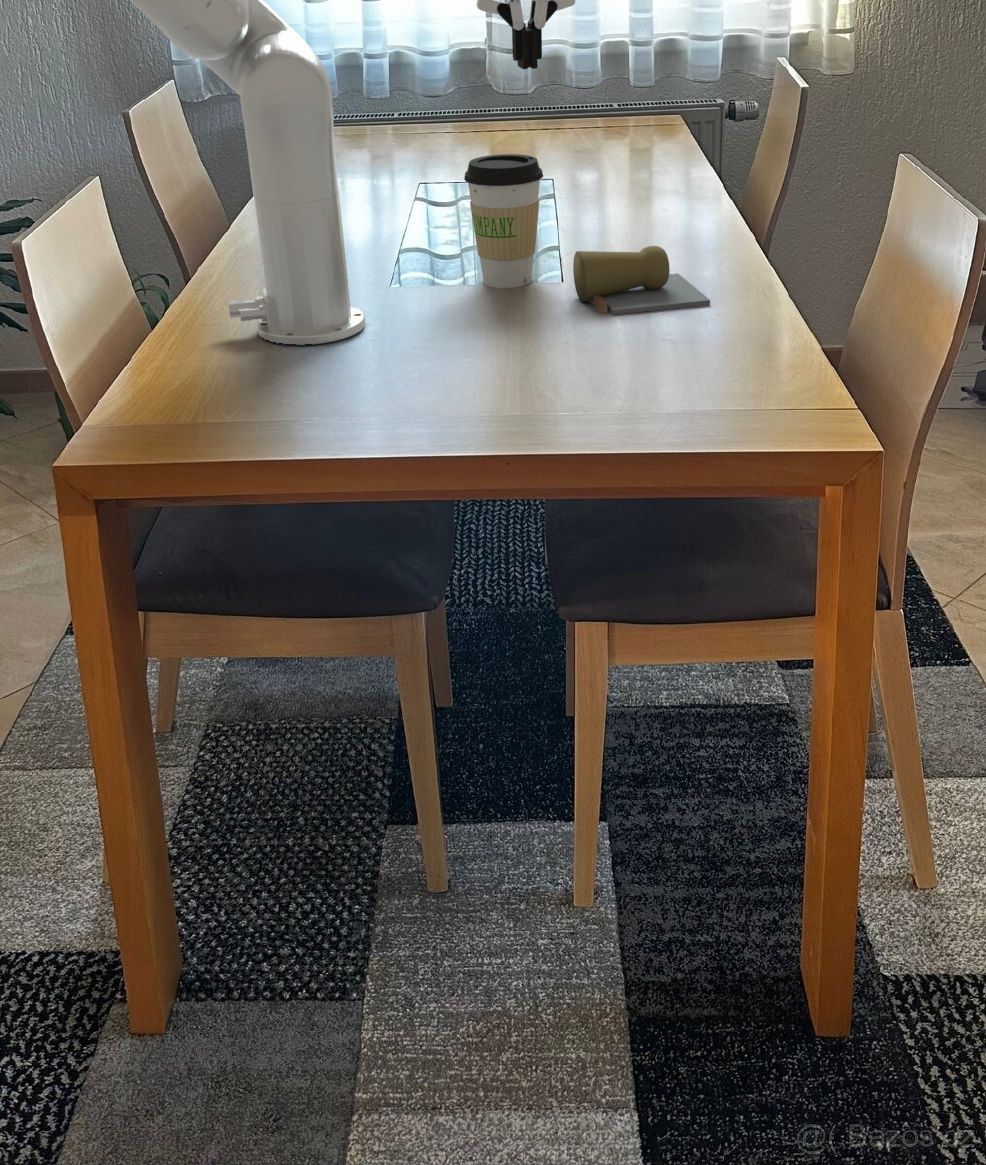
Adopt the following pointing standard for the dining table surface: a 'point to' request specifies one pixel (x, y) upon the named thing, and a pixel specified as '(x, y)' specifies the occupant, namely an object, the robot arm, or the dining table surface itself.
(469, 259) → the dining table surface
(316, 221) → the robot arm
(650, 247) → the cork
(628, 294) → the charcoal mat
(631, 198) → the dining table surface
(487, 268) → the coffee cup
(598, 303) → the walnut strip
